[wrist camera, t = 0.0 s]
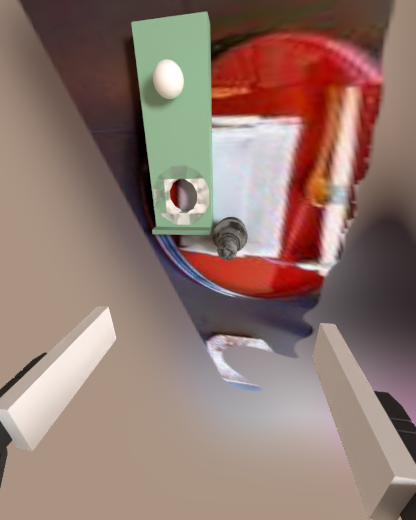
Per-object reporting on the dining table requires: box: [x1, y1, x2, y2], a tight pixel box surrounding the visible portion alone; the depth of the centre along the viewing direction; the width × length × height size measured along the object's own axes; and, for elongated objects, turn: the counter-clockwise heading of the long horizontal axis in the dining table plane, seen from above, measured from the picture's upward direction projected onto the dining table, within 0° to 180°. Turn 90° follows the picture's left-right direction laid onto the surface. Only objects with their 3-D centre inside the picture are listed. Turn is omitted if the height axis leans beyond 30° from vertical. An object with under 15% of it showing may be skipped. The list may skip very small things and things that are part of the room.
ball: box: [153, 59, 184, 99], centre depth 28 cm, size 4×4×4 cm
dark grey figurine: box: [213, 217, 248, 260], centre depth 34 cm, size 6×6×12 cm
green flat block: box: [131, 12, 213, 235], centre depth 33 cm, size 28×10×4 cm, turn 1°
